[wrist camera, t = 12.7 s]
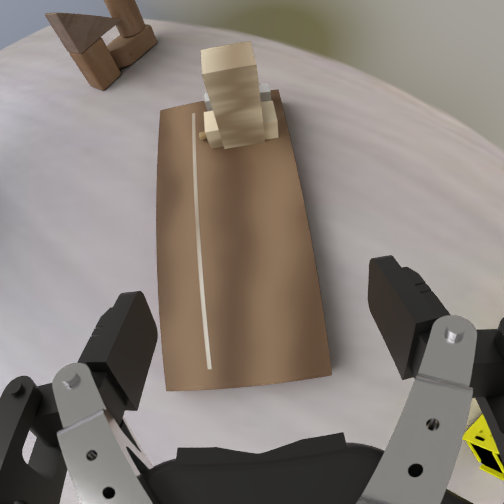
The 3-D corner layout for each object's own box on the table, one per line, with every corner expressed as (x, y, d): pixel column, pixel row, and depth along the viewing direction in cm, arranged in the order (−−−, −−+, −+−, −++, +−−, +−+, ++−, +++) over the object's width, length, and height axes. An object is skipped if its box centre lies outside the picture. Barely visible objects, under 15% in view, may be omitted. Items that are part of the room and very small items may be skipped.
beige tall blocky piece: (202, 153, 27) (172, 80, 19) (200, 128, 28) (173, 56, 20) (278, 140, 27) (274, 62, 18) (273, 115, 28) (267, 39, 19)
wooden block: (90, 86, 36) (30, -8, 18) (142, 40, 38) (102, -55, 21) (104, 92, 35) (41, -10, 18) (159, 43, 37) (119, -58, 20)
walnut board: (175, 388, 23) (156, 394, 20) (166, 122, 31) (154, 97, 28) (328, 373, 23) (336, 377, 19) (278, 102, 31) (277, 75, 27)
